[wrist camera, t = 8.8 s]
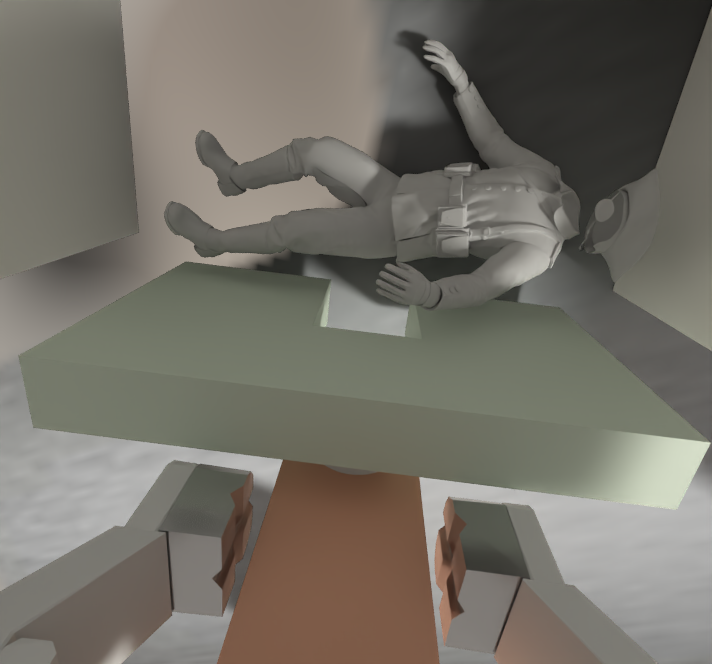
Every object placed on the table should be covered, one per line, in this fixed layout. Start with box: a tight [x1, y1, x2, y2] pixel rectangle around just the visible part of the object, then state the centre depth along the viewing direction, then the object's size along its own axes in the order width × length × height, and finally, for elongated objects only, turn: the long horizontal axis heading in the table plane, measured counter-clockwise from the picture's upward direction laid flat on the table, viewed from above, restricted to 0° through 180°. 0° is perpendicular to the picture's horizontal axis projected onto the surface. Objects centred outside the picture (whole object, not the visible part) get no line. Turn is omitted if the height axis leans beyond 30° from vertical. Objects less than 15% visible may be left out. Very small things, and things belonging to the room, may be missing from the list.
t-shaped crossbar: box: [19, 262, 711, 664], centre depth 10 cm, size 6×12×11 cm, turn 84°
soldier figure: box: [164, 40, 661, 311], centre depth 12 cm, size 8×5×12 cm
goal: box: [0, 0, 712, 351], centre depth 9 cm, size 11×19×7 cm, turn 84°
